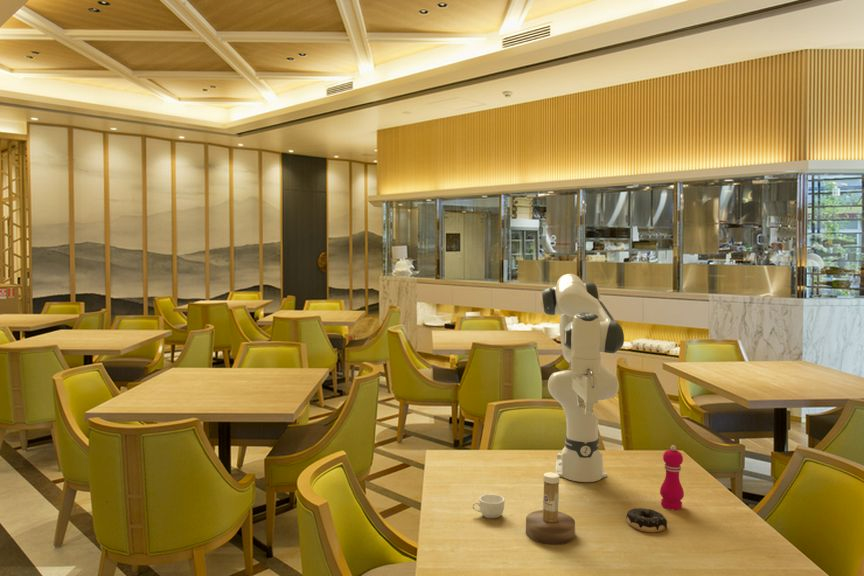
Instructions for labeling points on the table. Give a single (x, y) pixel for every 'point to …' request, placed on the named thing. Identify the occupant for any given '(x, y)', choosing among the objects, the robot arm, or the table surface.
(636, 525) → the donut
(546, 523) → the disc
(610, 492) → the table surface
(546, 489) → the sprinkles bottle
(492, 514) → the teacup
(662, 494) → the pepper mill
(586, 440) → the robot arm
